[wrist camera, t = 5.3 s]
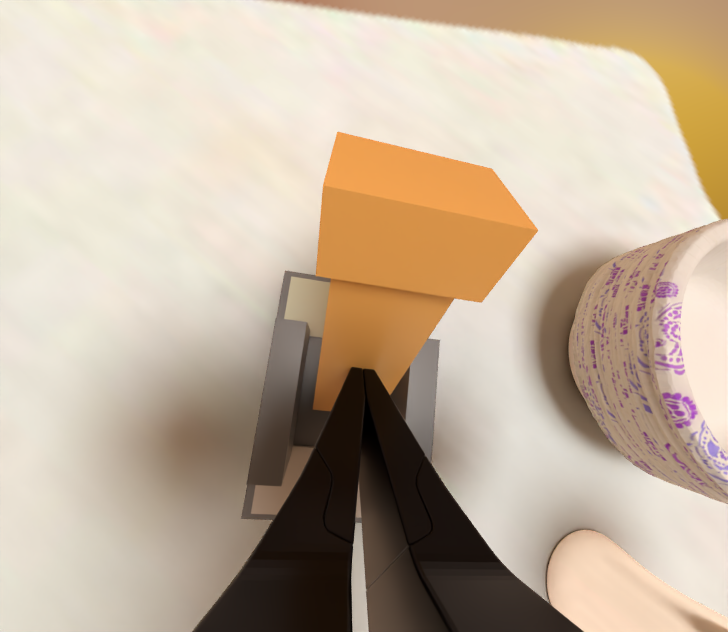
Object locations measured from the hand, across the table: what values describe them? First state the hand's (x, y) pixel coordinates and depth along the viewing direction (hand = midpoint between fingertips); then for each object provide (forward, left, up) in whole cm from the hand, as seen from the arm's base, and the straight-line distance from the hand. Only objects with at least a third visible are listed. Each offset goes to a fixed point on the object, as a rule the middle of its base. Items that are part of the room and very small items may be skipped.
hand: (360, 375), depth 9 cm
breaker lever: (-1, -1, -4) cm, 4 cm away
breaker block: (-1, -1, -8) cm, 8 cm away
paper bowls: (+17, -13, -8) cm, 23 cm away
